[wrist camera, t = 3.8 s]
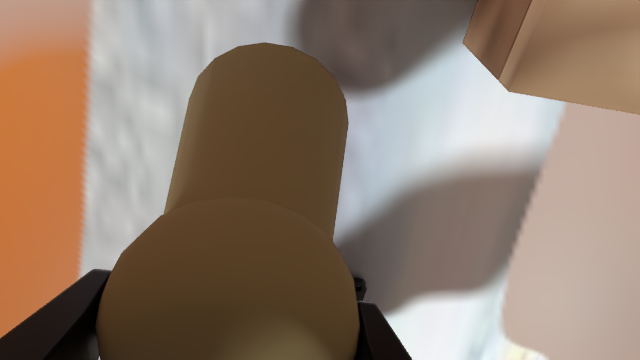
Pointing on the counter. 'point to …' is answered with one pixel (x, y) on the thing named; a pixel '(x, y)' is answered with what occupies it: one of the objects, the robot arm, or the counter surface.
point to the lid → (578, 53)
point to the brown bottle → (243, 225)
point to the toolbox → (495, 31)
